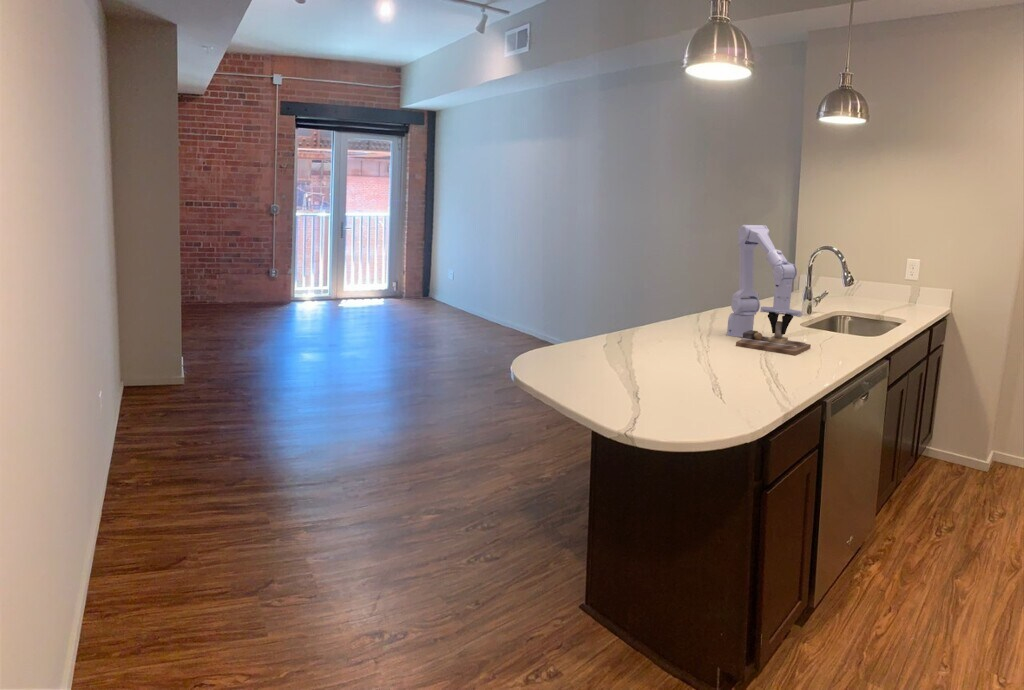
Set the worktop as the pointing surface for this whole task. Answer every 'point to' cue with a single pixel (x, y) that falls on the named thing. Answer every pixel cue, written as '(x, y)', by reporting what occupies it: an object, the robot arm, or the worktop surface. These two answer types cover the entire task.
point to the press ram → (778, 335)
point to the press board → (771, 344)
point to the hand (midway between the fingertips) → (778, 333)
